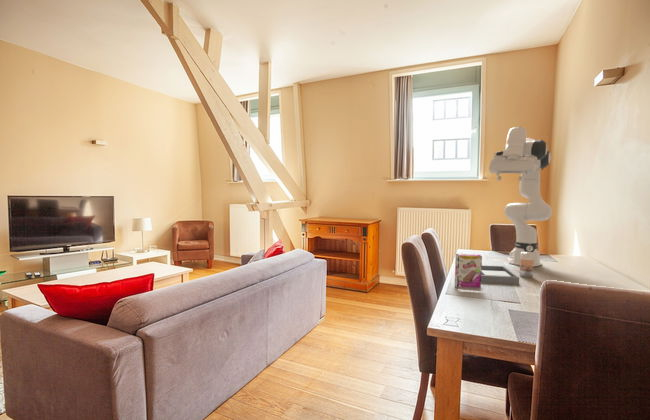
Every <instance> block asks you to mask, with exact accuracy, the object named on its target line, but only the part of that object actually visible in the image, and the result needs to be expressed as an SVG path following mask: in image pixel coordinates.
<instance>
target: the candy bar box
mask: <svg viewBox="0 0 650 420" xmlns="http://www.w3.org/2000/svg"><path fill="white" fill-rule="evenodd" d="M454 262H455V266H454V267H455V268H454V287H456V289H459V288H481V287H482V286H481V285H482V283H481V266H482V263H483V256H482V255H480V254H479V253H455V261H454Z"/></svg>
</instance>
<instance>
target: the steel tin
mask: <svg viewBox="0 0 650 420" xmlns="http://www.w3.org/2000/svg"><path fill="white" fill-rule="evenodd" d="M533 257H534V253H532V252H520V265H519V278H520V277H521V278H525V279H533V278H534V277H533V276H534V266H533Z"/></svg>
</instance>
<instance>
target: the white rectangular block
mask: <svg viewBox="0 0 650 420" xmlns="http://www.w3.org/2000/svg"><path fill="white" fill-rule="evenodd" d="M481 275H487V276H508V277H511V276H510V275H509V274H508V273H506V272H505V271H487V270H481Z"/></svg>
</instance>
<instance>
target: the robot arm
mask: <svg viewBox="0 0 650 420" xmlns="http://www.w3.org/2000/svg"><path fill="white" fill-rule="evenodd" d="M527 134H528V133H527V129H526V127H523V126H515V127H512V128H510V129H509V130H508V133H507V137H506V143H505V146H504V149H503V150H500V151H496V152H494V153H493V157H492V158H491V161H490V163H489V167H488V170H489V173H491V174H496V177H497V181H502V176H501V175H500V174H520V175H519V176H518V182H519V188H518V192H519V195H520V197H522V198H525V199H527V200H529V202H512V203H507V204H506V205H505V207H504V209H503V210H504V213H503V214H504V215H505V217H506V218H507V219H509V221H511V223H512V224H513V225H514V228H515V235H516V236H515V238H516V239H515V243H514V248H513V249H512V250H511V252H508V256H509V257H506V260H507V262H508V264H511V265H517V266H520V252H532V253H534V257H533V267H539V266H543V262H541V258H540V257H541V256H540V255H541V254H540V251H539V250H538V241H537V240H538V231H537V229H536V228H535V227H533V226H531V225H529V224H528V223H527V221H535V222H536V221H537V222H543V221H548V220H549V219H550V218H551V217H552V215H553V209H552V207H551V205H550V204H548V203H547V202H546V201H544V199H543V198H542V195H541V171H540V169H541V170H542V171H543V170H544V169H545V168H547V167H548V166H550V163H551V161H552V154H551V153H550V151H549V150H548V143H547V142H546V141H545V140H543V139H537V140H536V139H534V138H532V137H528V136H527Z"/></svg>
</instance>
